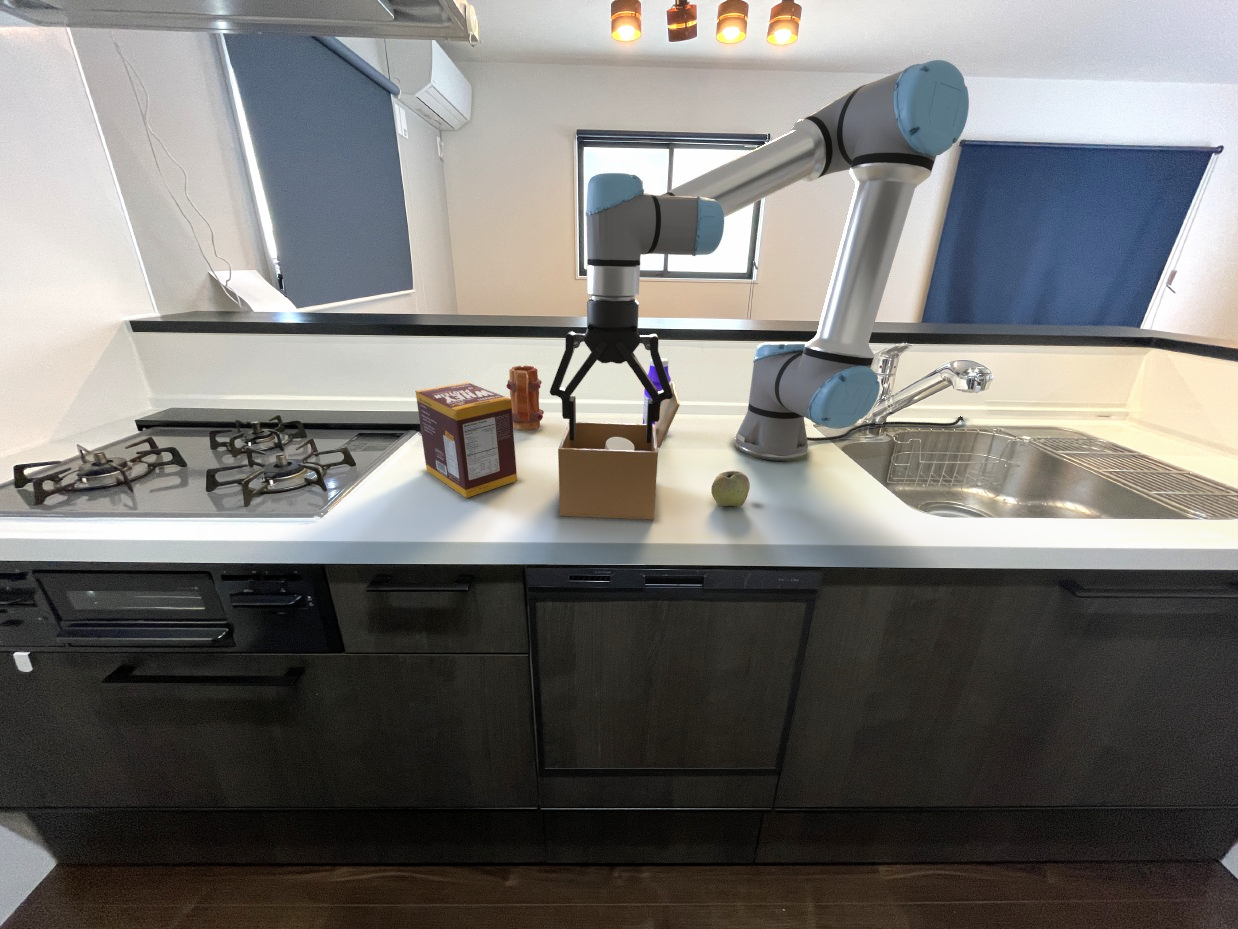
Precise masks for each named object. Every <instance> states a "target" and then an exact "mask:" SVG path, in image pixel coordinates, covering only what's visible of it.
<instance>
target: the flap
mask: <svg viewBox="0 0 1238 929" xmlns="http://www.w3.org/2000/svg"><path fill="white" fill-rule="evenodd" d="M670 387H671V390H672V394H673V397H672V398H671V399H666V400H664V401H663V403H662V405H661V407H660V419H659V421H658V422H655V429H656V439H657V448H658V450H659V449H661V446H662V445H663V443H664V440H665V438H666V436H667V435H668V433H669V429H670V427H671V425H672V423H673V421H674V418H675V416H676V414H677V413H678V410H679V408H680V406H681V403H680V400H679V396H678V393H677V392H678V391H677V388H676V385H675V383H674V382H673V381H672V382H670ZM667 432H668V433H667ZM666 434H667V435H666Z"/></svg>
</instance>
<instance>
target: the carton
mask: <svg viewBox="0 0 1238 929" xmlns="http://www.w3.org/2000/svg"><path fill="white" fill-rule="evenodd" d="M646 429H647V424H643V423H623V422H622V423H621V422H619V423H617V422H591V421H590V422H589V421H576V437H575V440H569V422H568V424H567V426H566V429H565V431H564V433H563V435H562V439H561V441H560V443H559V447H558V449H557V456H558V458H557V459H558V495H559V498H558V501H559V516H560V517H580V518H581V517H582V518H601V519H602V518H603V519H604V518H605V519H606V518H607V519H630V520H655V509H656V496H657V495H656V494H657V493H656V492H657V476H658V459H659V448H657V439H656V429H655V425H652V436H651V443H646ZM612 437H621V438H625V439H627V440H629V441H630V442H632V443H633V445H634V451H631V450H605V444H606V441H607V440H608V439H609V438H612Z"/></svg>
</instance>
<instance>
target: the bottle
mask: <svg viewBox="0 0 1238 929" xmlns="http://www.w3.org/2000/svg"><path fill="white" fill-rule="evenodd" d="M661 360H662V363H663V366H664V369H665V372H666V375H667V378H668V381H669V383H671V381H672V378H671V376H670V373H669V359H668V358H666V357H661ZM647 375H648V376H649V378H650V379H651V381H652V382H653V384H654V385H655V387H656V388H657V390H658V391H661V390H663V389H662V386H661V383H660V381H659V378H658V375H657V372H656V369H655V366H654V363H653V360H652V357H651V358H649V369H648V373H647ZM643 393H644V394H643V412H642V424H647V408H648V399H652V398H651V397H650V395H649V394H648V392H647V391H646V389H645V388H644V390H643ZM663 401H664V400H663ZM663 401H662V402H661V404H660V407H661V405H662V403H663ZM652 425H655V422H652ZM668 433H669V431H668V432H667V434H666V436H667V435H668Z"/></svg>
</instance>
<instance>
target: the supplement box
mask: <svg viewBox="0 0 1238 929" xmlns="http://www.w3.org/2000/svg"><path fill="white" fill-rule="evenodd" d="M414 391H415V398H416V405H417V412H418V418H419V426H420V434H421V442H422V446H423V456H424V461H425V462H424V463H425V468H426V472H427V473H429V474H430V475H432V476H433V477H435V478H436V479H438V480H439V481H441V482H442V483H444V484H445V485H446V486H448V487H449V488H451V489H452V490H454V491H455V492H457V493H458V494H460V495H461V496H462V497H464V498H467V499H468V498H470V497H474V496H476V495H480V494H482V493H485V492H488V491H491V490H494V489H497V488H500V487H503V486H506V485H509V484H513V483H514V482H518V472H517V461H516V460H517V459H516V446H515V445H516V444H515V431H514V430H515V429H514V428H513V417H512V402H511V398H510V397H508V396H505V395H502V394H500V393H496V392H493V391H491V390H489V389H486V388H483V387H481V386H478V385H476V384H474V383H471V382H468V381H466V382H461V383H455V384H449V385H443V386H438V387H437V386H436V387H431V388H425V389H417V390H414Z"/></svg>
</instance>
